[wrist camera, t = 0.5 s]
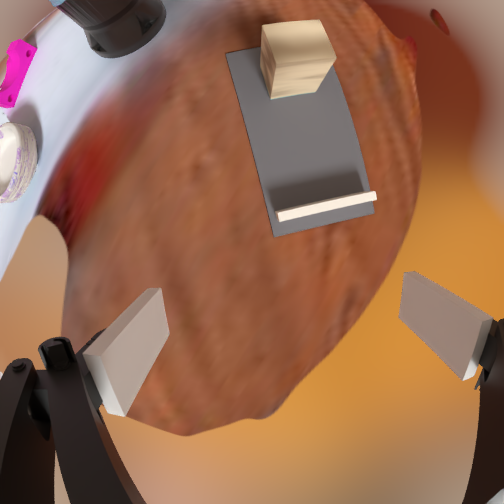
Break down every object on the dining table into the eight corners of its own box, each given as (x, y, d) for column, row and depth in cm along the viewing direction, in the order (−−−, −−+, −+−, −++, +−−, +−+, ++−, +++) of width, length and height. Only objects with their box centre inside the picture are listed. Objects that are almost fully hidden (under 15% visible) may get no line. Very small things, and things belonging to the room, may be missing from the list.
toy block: (23, 53, 31) (6, 44, 24) (37, 49, 32) (19, 38, 24) (2, 108, 34) (-19, 104, 27) (14, 107, 35) (-7, 101, 27)
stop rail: (275, 211, 39) (277, 212, 35) (364, 191, 38) (375, 191, 34) (276, 219, 39) (279, 221, 35) (366, 199, 38) (376, 199, 34)
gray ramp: (225, 55, 34) (225, 54, 34) (321, 40, 33) (322, 39, 33) (273, 236, 40) (274, 237, 39) (373, 213, 39) (374, 213, 39)
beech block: (260, 67, 34) (261, 25, 22) (303, 60, 34) (319, 19, 22) (270, 99, 35) (276, 63, 24) (315, 92, 35) (336, 57, 23)
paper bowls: (19, 121, 35) (-5, 115, 27) (57, 136, 36) (30, 130, 29) (-1, 187, 38) (-26, 189, 30) (33, 212, 39) (6, 216, 31)
